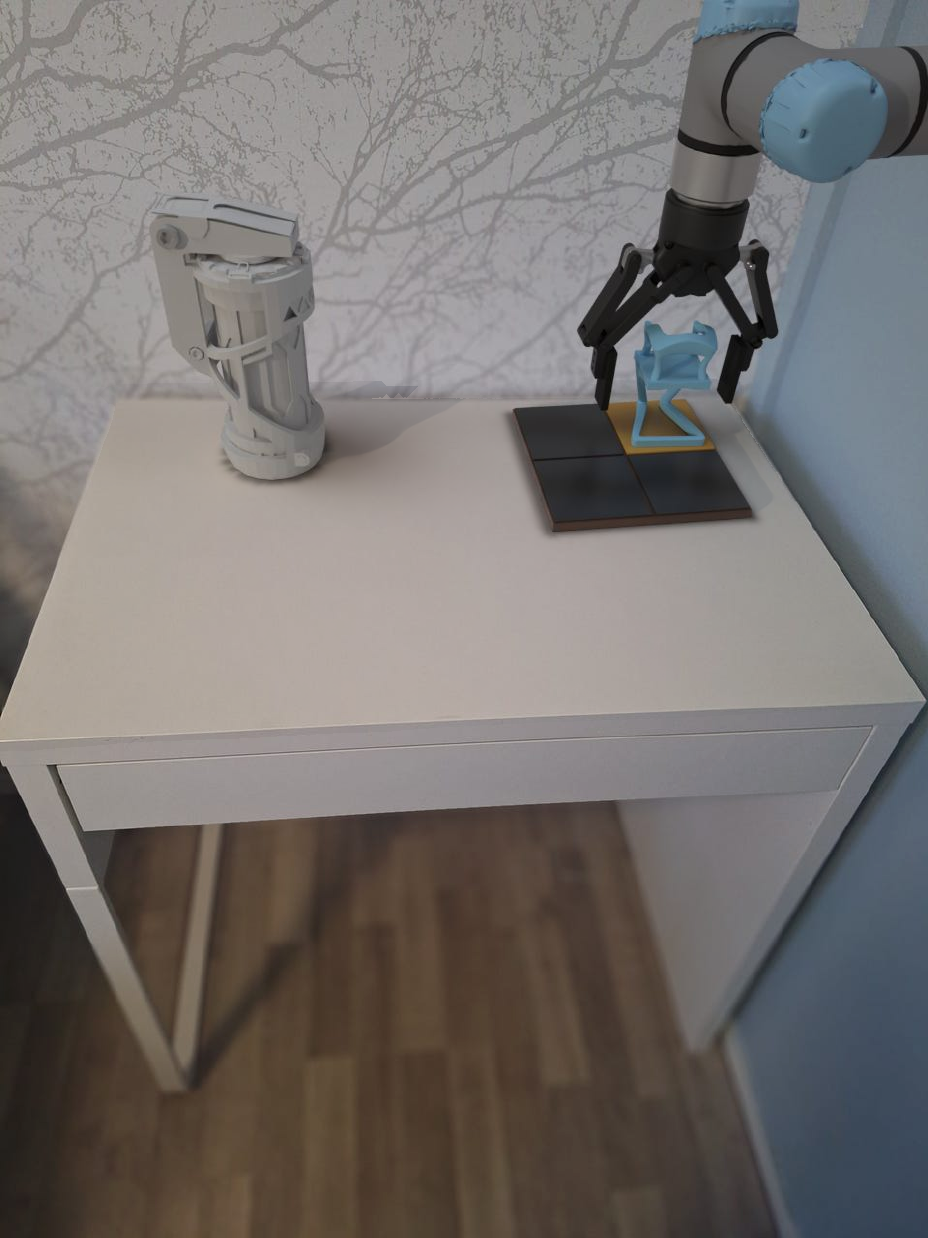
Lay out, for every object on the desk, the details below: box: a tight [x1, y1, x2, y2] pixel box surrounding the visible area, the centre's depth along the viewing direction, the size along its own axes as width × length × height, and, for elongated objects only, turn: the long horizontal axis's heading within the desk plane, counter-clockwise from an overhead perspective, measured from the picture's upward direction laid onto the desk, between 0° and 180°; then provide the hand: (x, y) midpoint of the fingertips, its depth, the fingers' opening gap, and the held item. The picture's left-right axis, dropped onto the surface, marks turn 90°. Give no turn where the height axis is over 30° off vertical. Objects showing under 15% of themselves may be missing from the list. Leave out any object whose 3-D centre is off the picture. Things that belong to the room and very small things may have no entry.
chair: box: [631, 320, 719, 447], centre depth 95 cm, size 8×8×12 cm
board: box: [511, 398, 753, 532], centre depth 96 cm, size 20×20×1 cm
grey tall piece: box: [148, 189, 326, 481], centre depth 86 cm, size 13×10×25 cm
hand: (663, 400), depth 97 cm, fingers open, 13 cm apart
